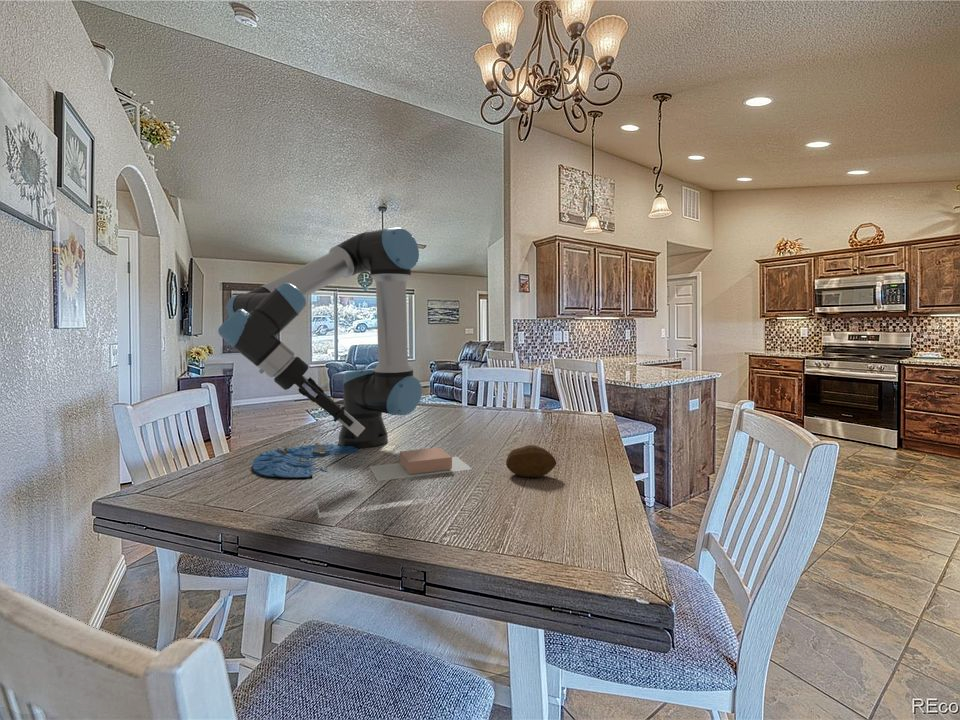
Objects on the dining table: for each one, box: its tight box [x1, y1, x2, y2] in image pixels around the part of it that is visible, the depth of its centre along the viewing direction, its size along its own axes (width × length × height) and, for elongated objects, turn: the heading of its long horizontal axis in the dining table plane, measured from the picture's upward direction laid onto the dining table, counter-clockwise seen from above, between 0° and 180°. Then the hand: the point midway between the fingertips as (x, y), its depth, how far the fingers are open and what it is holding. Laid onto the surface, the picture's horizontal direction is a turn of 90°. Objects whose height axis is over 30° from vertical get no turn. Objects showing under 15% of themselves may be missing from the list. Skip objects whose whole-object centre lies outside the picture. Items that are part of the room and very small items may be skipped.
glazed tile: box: [399, 446, 453, 475], centre depth 121 cm, size 10×3×11 cm
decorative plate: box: [252, 442, 363, 479], centre depth 129 cm, size 30×30×5 cm
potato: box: [505, 444, 557, 478], centre depth 117 cm, size 8×12×8 cm, turn 88°
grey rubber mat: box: [369, 456, 473, 482], centre depth 121 cm, size 12×24×1 cm, turn 113°
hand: (360, 431), depth 115 cm, fingers closed
